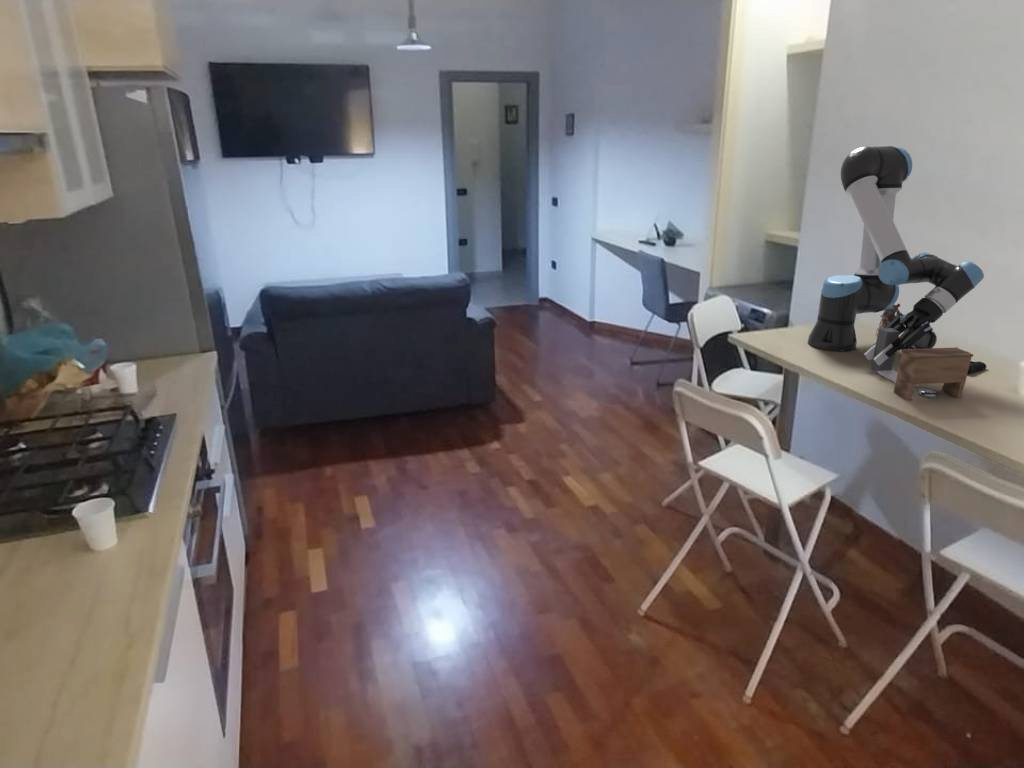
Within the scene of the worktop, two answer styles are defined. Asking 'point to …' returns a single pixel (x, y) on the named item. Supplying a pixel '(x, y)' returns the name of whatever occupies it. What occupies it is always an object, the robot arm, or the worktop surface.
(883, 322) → the figurine
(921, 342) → the ceramic mug
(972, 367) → the door handle
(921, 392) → the dark grey round piece
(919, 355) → the walnut stool
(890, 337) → the grey block with plate
